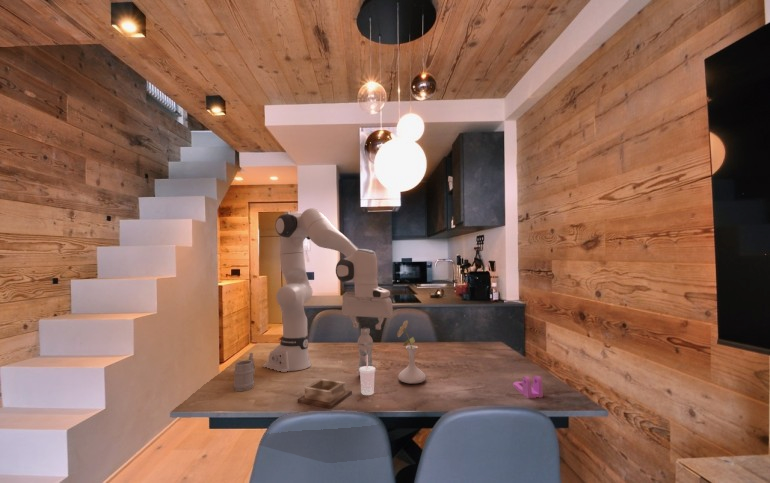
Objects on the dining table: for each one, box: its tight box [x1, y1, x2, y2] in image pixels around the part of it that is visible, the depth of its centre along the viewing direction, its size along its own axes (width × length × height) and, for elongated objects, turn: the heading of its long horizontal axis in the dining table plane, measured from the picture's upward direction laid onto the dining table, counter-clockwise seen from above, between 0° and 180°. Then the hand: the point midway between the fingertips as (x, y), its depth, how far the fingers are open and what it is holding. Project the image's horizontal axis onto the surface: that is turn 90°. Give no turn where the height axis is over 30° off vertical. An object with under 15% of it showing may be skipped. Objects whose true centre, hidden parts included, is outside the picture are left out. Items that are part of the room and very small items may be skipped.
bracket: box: [513, 375, 544, 399], centre depth 131 cm, size 13×6×7 cm, turn 7°
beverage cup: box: [359, 355, 376, 396], centre depth 132 cm, size 6×6×14 cm
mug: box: [232, 352, 256, 392], centre depth 140 cm, size 8×12×12 cm, turn 174°
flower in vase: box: [396, 320, 427, 385], centre depth 143 cm, size 13×11×25 cm
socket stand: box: [296, 378, 353, 409], centre depth 127 cm, size 14×14×4 cm
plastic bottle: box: [357, 327, 374, 376], centre depth 150 cm, size 6×7×20 cm
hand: (366, 328), depth 132 cm, fingers open, 8 cm apart
